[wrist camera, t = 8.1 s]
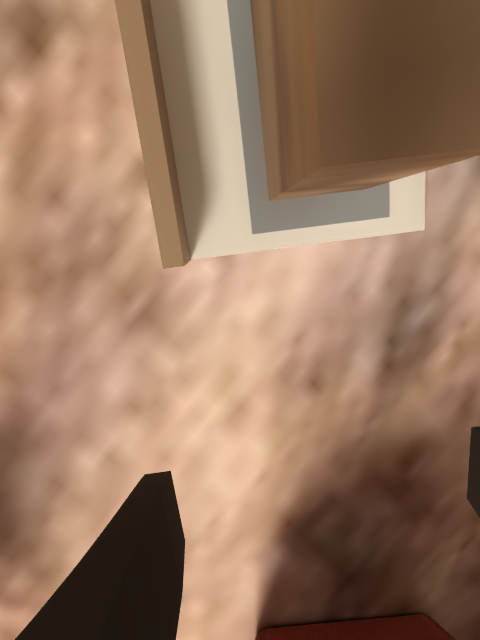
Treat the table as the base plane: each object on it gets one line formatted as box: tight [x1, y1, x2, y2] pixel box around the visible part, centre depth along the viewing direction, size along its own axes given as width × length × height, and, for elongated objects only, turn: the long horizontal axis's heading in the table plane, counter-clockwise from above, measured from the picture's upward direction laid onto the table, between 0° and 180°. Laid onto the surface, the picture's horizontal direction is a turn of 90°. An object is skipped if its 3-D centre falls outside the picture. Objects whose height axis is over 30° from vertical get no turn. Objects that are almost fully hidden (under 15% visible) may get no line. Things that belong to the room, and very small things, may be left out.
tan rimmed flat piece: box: [115, 0, 426, 269], centre depth 13 cm, size 12×16×4 cm
